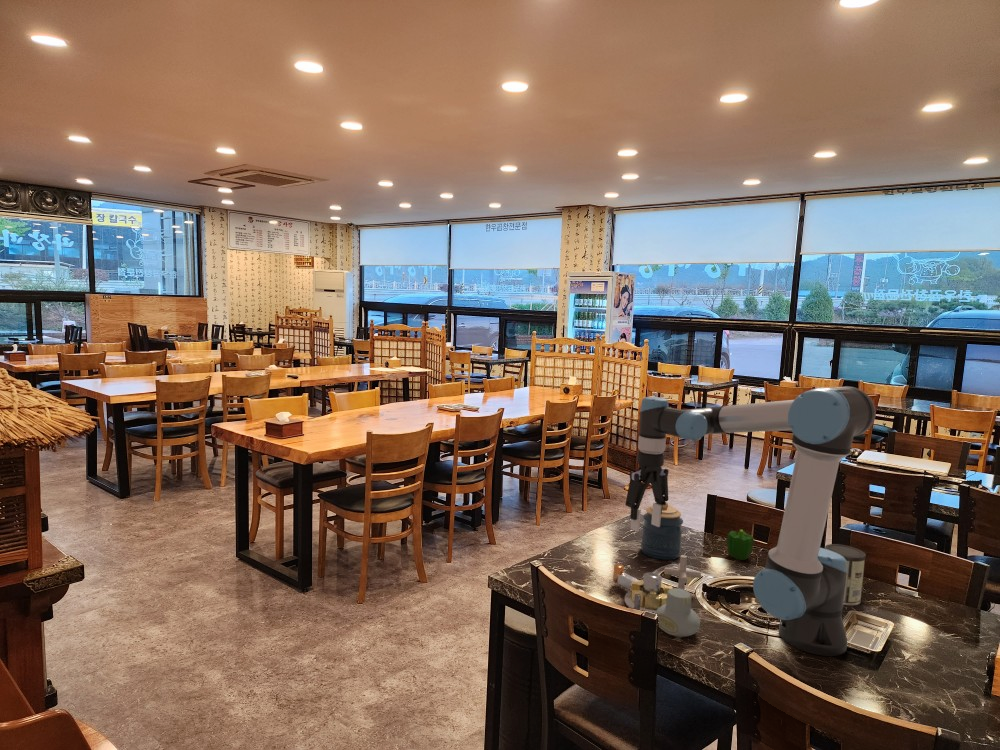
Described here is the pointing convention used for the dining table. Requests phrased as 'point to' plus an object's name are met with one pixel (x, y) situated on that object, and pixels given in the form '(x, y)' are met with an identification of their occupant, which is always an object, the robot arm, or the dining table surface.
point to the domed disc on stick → (640, 589)
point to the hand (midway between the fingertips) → (645, 527)
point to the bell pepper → (739, 544)
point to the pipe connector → (682, 572)
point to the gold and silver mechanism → (645, 591)
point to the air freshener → (678, 614)
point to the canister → (662, 534)
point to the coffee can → (851, 571)
